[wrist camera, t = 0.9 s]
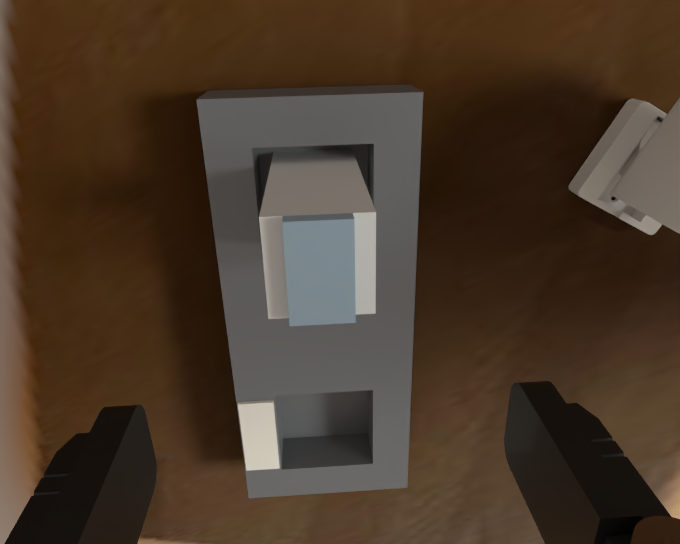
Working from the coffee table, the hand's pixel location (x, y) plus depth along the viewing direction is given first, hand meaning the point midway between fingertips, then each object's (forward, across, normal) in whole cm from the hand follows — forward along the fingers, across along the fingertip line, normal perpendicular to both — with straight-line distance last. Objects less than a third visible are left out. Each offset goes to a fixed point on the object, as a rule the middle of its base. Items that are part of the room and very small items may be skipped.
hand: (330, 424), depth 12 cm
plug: (+18, 0, 0) cm, 18 cm away
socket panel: (+19, 0, +7) cm, 20 cm away
